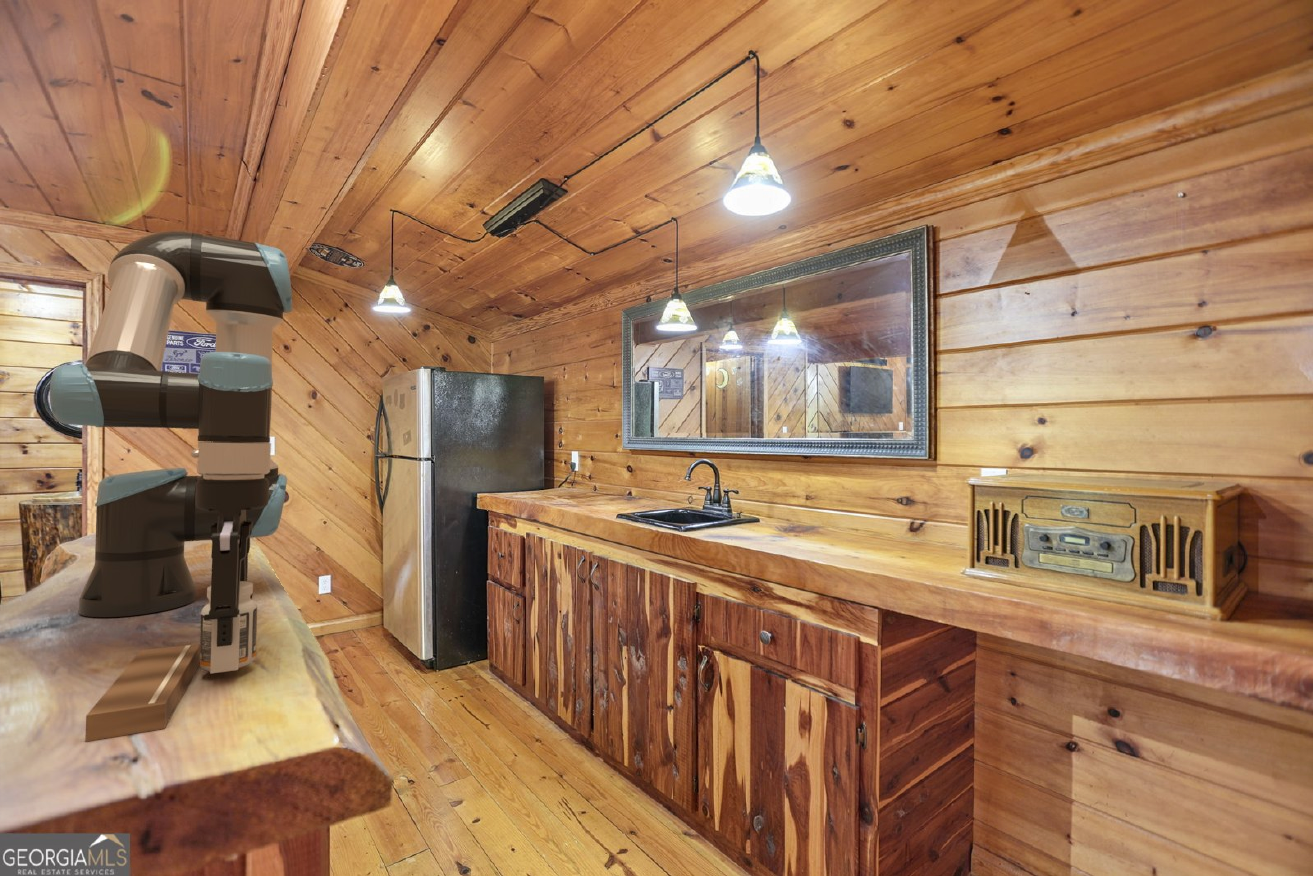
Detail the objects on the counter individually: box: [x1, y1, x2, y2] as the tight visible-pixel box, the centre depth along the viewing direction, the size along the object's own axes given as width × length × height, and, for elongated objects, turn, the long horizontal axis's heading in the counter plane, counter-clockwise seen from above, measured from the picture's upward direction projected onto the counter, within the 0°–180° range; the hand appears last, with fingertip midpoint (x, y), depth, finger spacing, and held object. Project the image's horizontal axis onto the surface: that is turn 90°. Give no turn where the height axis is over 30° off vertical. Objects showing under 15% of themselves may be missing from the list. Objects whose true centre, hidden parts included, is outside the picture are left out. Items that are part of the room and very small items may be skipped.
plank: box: [84, 643, 200, 743], centre depth 68 cm, size 20×6×3 cm, turn 29°
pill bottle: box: [199, 580, 258, 672], centre depth 75 cm, size 6×6×10 cm
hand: (228, 661), depth 75 cm, fingers closed on pill bottle, 6 cm apart
